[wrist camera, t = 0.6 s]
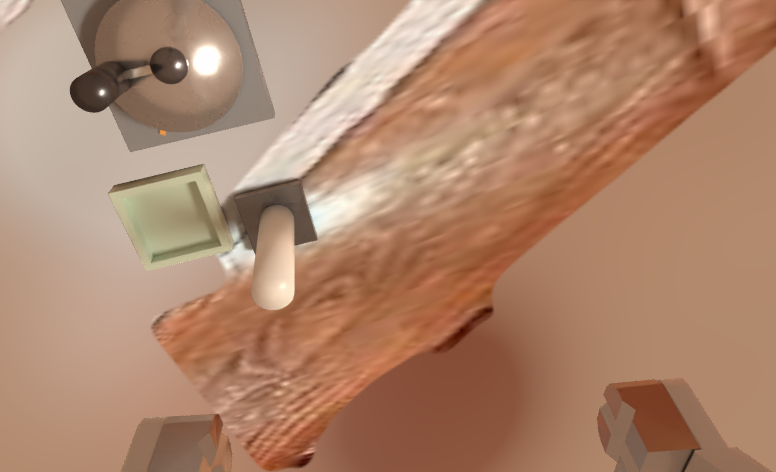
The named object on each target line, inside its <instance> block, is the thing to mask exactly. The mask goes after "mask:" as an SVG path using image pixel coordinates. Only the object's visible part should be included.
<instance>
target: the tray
mask: <svg viewBox="0 0 776 472" xmlns="http://www.w3.org/2000/svg"><path fill="white" fill-rule="evenodd" d="M108 195H109V197H110V199H111V201H112V203H113V205H114V207H115V209H116V211H117V213H118V215H119V217H120V219H121V221H122V223H123V225H124V227H125V229H126V231H127V233H128V235H129V237H130V239H131V241H132V243H133V245H134V247H135V249H136V251H137V253H138V255H139V257H140V259H141V261H142V263H143V265H144V267H145V269H146V271H150V270H154V269H157V268H162V267H166V266H170V265H174V264H178V263H182V262H186V261H190V260H194V259H198V258H202V257H206V256H210V255H215V254H219V253H223V252H227V251H231V250H232V247H233V242H234V240H233V237H232V235H231V232H230V229H229V227H228V224H227V222H226V219H225V217H224V214H223V211H222V209H221V206H220V204H219V201H218V199H217V196H216V193H215V191H214V188H213V186H212V183H211V181H210V178H209V175H208V173H207V170H206V168H205V165H204V164H201V165H197V166H193V167H189V168H184V169H180V170H177V171H172V172H168V173H164V174H159V175H155V176H151V177H147V178H143V179H138V180H134V181H130V182H126V183H122V184H118V185H114V186H113V188H112V189H111V190H110V192H109V193H108Z"/></svg>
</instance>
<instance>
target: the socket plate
mask: <svg viewBox="0 0 776 472" xmlns="http://www.w3.org/2000/svg"><path fill="white" fill-rule="evenodd" d="M235 201H236V204H237V207H238V209H239V212H240V215H241V218H242V220H243V223H244V226H245V228H246V231H247V234H248V236H249V239H250V242H251V244H252V247H253V250H254V253H255V255H256V248H257V240H258V232H259V224H260V217H261V214H262V212H263V211H264V210H265V209H266V208H267V207H269V206H272V205H282V206H285V207H287V208H288V209H289V210H290V211H291V212H292V214H293V216H294V246H295V245H299V244H303V243H307V242H311V241H315V240H317V234H316V231H315V227H314V224H313V221H312V217H311V214H310V211H309V207H308V204H307V201H306V197H305V194H304V191H303V187H302V184H301V180H296V181H292V182H288V183H284V184H280V185H276V186H272V187H267V188H263V189H259V190H255V191H251V192H247V193H243V194H238V195H235Z"/></svg>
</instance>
